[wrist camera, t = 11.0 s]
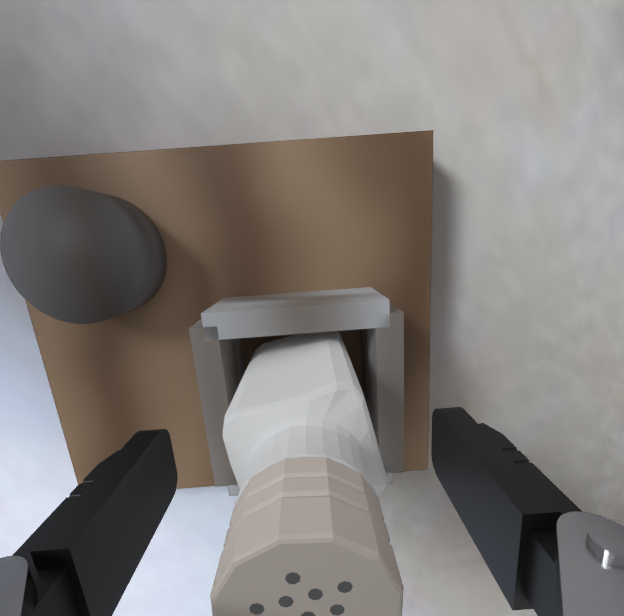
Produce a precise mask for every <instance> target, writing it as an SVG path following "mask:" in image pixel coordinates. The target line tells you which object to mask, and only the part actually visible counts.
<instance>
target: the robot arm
mask: <svg viewBox="0 0 624 616" xmlns="http://www.w3.org/2000/svg"><path fill="white" fill-rule="evenodd" d="M432 462H433V466H434V469H435V472H436V475H437V477H438V479H439V481H440V482H441V484H442V486H443V488H444V489H445V491H446V493H447V495H448V497H449V498H450V500H451V502H452V504H453V505H454V507H455V509H456V511H457V512H458V514H459V516H460V518H461V520H462V521H463V523H464V525H465V527H466V528H467V530H468V532H469V534H470V535H471V537H472V539H473V541H474V543H475V544H476V546H477V548H478V550H479V551H480V553H481V555H482V557H483V558H484V560H485V562H486V564H487V566H488V567H489V569H490V571H491V573H492V574H493V576H494V578H495V580H496V582H497V583H498V585H499V587H500V589H501V590H502V592H503V594H504V596H505V597H506V599H507V601H508V603H509V605H510V606H511V608H512V610H522V609H534V610H535V612H536V613H537V615H538V616H624V527H623V526H621V525H620V524H618V523H616V522H613V521H611V520H609V519H607V518H604V517H601V516H598V515H595V514H591V513H586V512H582V511H581V510H580V509H579V508H578V507H577V506H576V505H575V504H574V503H573V502H572V501H571V500H570V499H569V498H568V497H567V496H566V495H565V494H563V493H562V492H561V491H560V490H559V489H558V488H557V487H556V486H555V485H554V484H553V483H552V482H551V481H550V480H549V479H548V478H547V477H546V476H545V475H544V474H543V473H542V472H541V471H540V470H539V469H538V468H537V467H536V466H535V465H534V464H533V463H530V462H529V460H528V459H527V458H526V457H525V456H524V455H523V454H522V453H521V452H520V451H517V449H516V447H515V446H514V445H513V444H512V443H511V442H510V441H509V440H508V439H507V438H506V437H505V436H504V435H503V434H501V433H500V432H498V431H496V430H494V429H493V428H491V427H489V426H487V425H486V424H484V423H481V424H477V423H476V421H475V420H474V419H473V418H472V417H471V416H470V415H469V414H468V413H467V412H466V411H465V410H464V409H463V408H461V407H454V408H441V409H435V410H434V411H433V414H432ZM177 477H178V476H177V468H176V463H175V458H174V453H173V448H172V443H171V438H170V434H169V432H168V430H167V429H156V430H142V431H138V432H136V433H135V434H134V435H133V436H132V438H131V439H130V440H129V441H128V442H127V443H126V444H125V445H124V447H123V448H122V449H121V450H117V451H116V452H115V453H113V454H112V455H110V456H109V457H107V458H106V459H105V460H103V461H102V462H100V463H99V464H98V465H97V466H96V467H95V468H94V469H93V470H92V471H91V472H90V473H89V474H88V475H87V476H86V477H85V478H84V480H83V483H80V484H79V485H78V486H77V487H76V488H75V489H74V490H73V491H72V492H71V493H70V497H69V498H66V499H65V500H64V501H63V502H62V503H61V504H60V505H59V506H58V507H57V508H56V509H55V511H54V512H53V513H52V514H51V515H50V516H49V517H48V518H47V519H46V520H45V521H44V522H43V523H42V524H41V525H40V527H39V528H38V529H37V530H36V531H35V532H34V533H33V534H32V535H31V536H30V537H29V538H28V539H27V540H26V542H25V543H24V544H23V545H22V546H21V547H20V548H19V549H18V550H17V551H16V552H15V553H14V554H13V555H12V556H7V557H3V558H0V616H112V614H113V612H114V610H115V609H116V607H117V605H118V603H119V601H120V599H121V597H122V595H123V593H124V591H125V589H126V587H127V585H128V583H129V582H130V580H131V578H132V576H133V574H134V572H135V570H136V568H137V566H138V564H139V562H140V560H141V558H142V556H143V555H144V553H145V551H146V549H147V547H148V545H149V543H150V541H151V539H152V537H153V535H154V533H155V531H156V529H157V528H158V526H159V524H160V522H161V520H162V518H163V516H164V514H165V512H166V510H167V508H168V506H169V504H170V502H171V501H172V499H173V496H174V494H175V491H176V487H177Z"/></svg>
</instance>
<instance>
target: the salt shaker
mask: <svg viewBox="0 0 624 616" xmlns="http://www.w3.org/2000/svg"><path fill="white" fill-rule="evenodd" d="M222 434H223V440H224V444H225V447H226V451H227V454H228V458H229V461H230V464H231V467H232V470H233V472H234V475H235V478H236V481H237V483H238V486H239V488H240V492H239V494H238V497H237V499H236V502H235V506H234V509H233V513H232V517H231V520H230V528H229V529H228V532H227V535H226V539H225V543H224V550H223V552H222V554H221V557H220V561H219V565H218V569H217V572H216V576H215V580H214V583H213V587H212V591H211V594H210V597H211V605H212V613H213V616H402V605H403V588H404V587H403V584H402V580H401V577H400V573H399V570H398V566H397V563H396V559H395V556H394V552H393V549H392V546H391V544H390V538H389V535H388V531H387V528H386V524H385V523H384V517H383V513H382V510H381V506H380V503H379V500H378V498H379V497H380V496H381V494H382V493H383V492H384V490H385V487H386V485H387V477H386V473H385V470H384V466H383V462H382V458H381V454H380V451H379V447H378V443H377V440H376V436H375V433H374V429H373V425H372V422H371V418H370V415H369V411H368V408H367V405H366V401H365V398H364V394H363V392H362V389H361V387H360V384H359V381H358V379H357V376H356V373H355V371H354V368H353V366H352V363H351V360H350V358H349V355H348V353H347V350H346V347H345V345H344V342H343V340H342V337H341V335H340V333H339V332H338V331H330V332H317V333H303V334H295V335H292V336H288V337H285V338H281V339H278V340H274V341H271V342H267V343H264V344H262V345H261V346H260V347H258V348H257V349H256V350H255V352H254V354H253V356H252V358H251V360H250V363H249V365H248V367H247V369H246V371H245V373H244V375H243V378H242V380H241V382H240V384H239V386H238V388H237V390H236V393H235V395H234V397H233V399H232V401H231V403H230V405H229V408H228V410H227V412H226V414H225V417H224V425H223V433H222Z"/></svg>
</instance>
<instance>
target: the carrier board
mask: <svg viewBox="0 0 624 616" xmlns="http://www.w3.org/2000/svg"><path fill="white" fill-rule="evenodd" d="M432 178H433V130H431V131H417V132H402V133H388V134H374V135H360V136H346V137H331V138H317V139H303V140H289V141H275V142H261V143H246V144H232V145H218V146H204V147H190V148H175V149H161V150H147V151H133V152H119V153H104V154H90V155H76V156H62V157H48V158H33V159H19V160H5V161H0V213H1V216H2V220H3V226H2V231H1V240H0V247H1V255H2V260H3V264H4V266H5V269H6V272H7V274H8V276H9V278H10V280H11V282H12V283H13V285H14V286H15V288H16V289H17V290H18V292H19V293H20V294H21V295H22V296H23V297H24V298H25V300H26V304H27V307H28V311H29V314H30V318H31V321H32V325H33V328H34V332H35V335H36V339H37V342H38V346H39V349H40V353H41V356H42V360H43V363H44V367H45V370H46V374H47V377H48V381H49V384H50V387H51V391H52V394H53V398H54V401H55V405H56V408H57V412H58V415H59V419H60V422H61V426H62V429H63V433H64V436H65V440H66V443H67V447H68V450H69V454H70V457H71V461H72V464H73V468H74V471H75V475H76V478H77V482H78V485H79V484H80V483H83V480H84V478H85V477H86V476H87V475H88V474H89V473H90V472H91V471H92V470H93V469H94V468H95V467H96V466H97V465H98V464H99V463H100V462H102V461H103V460H105V459H106V458H107V457H109V456H110V455H112V454H113V453H115V452H116V451H117V450H121V449H122V448H123V447H124V445H125V444H126V443H127V442H128V441H129V440H130V439H131V438H132V436H133V435H134V434H135V433H136V432H138V431H142V430H156V429H167V430H168V432H169V434H170V438H171V443H172V448H173V453H174V458H175V463H176V468H177V476H178V477H177V487H176V489H179V488H192V487H205V486H228V491H229V496H236V495H238V494H239V492H240V488H239V486H238V483H237V481H236V478H235V475H234V472H233V470H232V467H231V464H230V461H229V458H228V454H227V451H226V447H225V444H224V440H223V434H222V433H223V425H224V417H225V414H226V412H227V410H228V408H229V405H230V403H231V401H232V399H233V397H234V395H235V393H236V390H237V388H238V386H239V384H240V382H241V380H242V378H243V375H244V373H245V371H246V369H247V367H248V365H249V363H250V360H251V358H252V356H253V354H254V352H255V350H256V349H257V348H258V347H260V346H261V345H262V344H264V343H267V342H271V341H274V340H278V339H281V338H285V337H288V336H292V335H295V334H303V333H317V332H330V331H338V332H339V333H340V335H341V337H342V340H343V342H344V345H345V347H346V350H347V353H348V355H349V358H350V360H351V363H352V366H353V368H354V371H355V373H356V376H357V379H358V381H359V384H360V387H361V389H362V392H363V394H364V398H365V401H366V405H367V408H368V411H369V415H370V418H371V422H372V425H373V429H374V433H375V436H376V440H377V443H378V447H379V451H380V454H381V458H382V462H383V466H384V470H385V473H386V477H387V484H391V483H392V473H397V472H404V471H413V470H426V469H428V420H429V359H430V299H431V238H432Z"/></svg>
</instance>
